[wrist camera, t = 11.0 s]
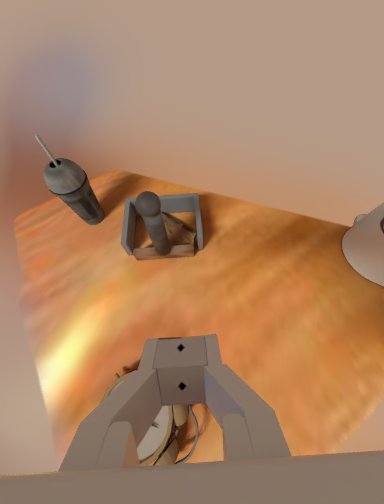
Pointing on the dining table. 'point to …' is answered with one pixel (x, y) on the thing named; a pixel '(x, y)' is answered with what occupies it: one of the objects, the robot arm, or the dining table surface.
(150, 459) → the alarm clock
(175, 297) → the dining table surface
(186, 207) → the box
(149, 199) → the ball-topped joystick
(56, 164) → the beverage cup
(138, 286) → the dining table surface
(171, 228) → the shard
